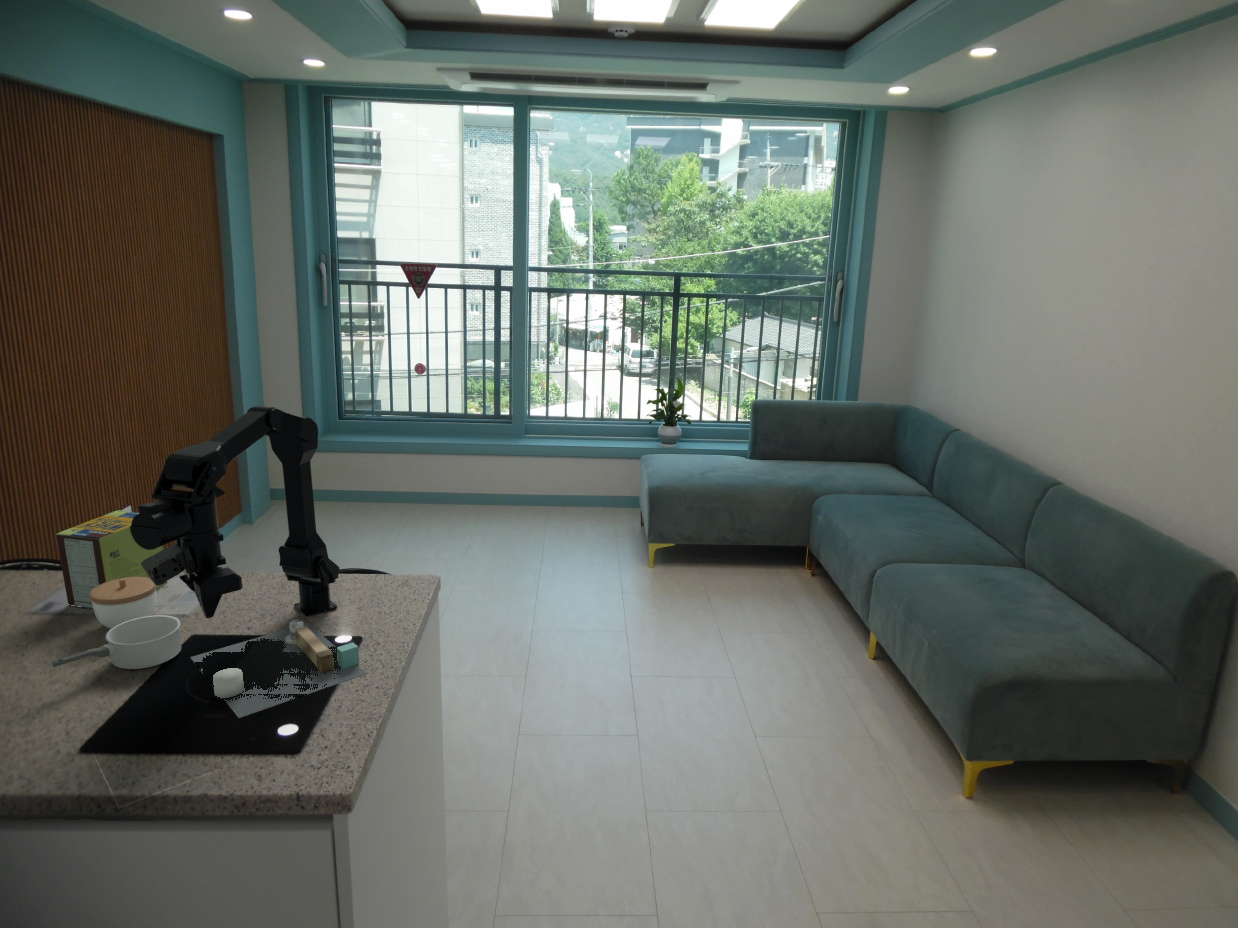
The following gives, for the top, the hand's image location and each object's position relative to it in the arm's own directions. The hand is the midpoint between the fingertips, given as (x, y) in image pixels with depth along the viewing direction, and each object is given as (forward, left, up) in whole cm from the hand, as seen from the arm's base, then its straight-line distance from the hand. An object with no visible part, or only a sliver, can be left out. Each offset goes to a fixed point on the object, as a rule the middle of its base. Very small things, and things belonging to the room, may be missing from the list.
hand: (209, 617), depth 136 cm
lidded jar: (-30, -7, -11) cm, 32 cm away
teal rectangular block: (+11, +18, -11) cm, 24 cm away
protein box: (-47, -5, -11) cm, 48 cm away
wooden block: (+5, +15, -10) cm, 19 cm away
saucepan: (-12, -11, -11) cm, 20 cm away
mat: (+4, +9, -11) cm, 14 cm away
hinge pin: (-4, +15, -11) cm, 19 cm away
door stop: (+7, 0, -10) cm, 13 cm away
